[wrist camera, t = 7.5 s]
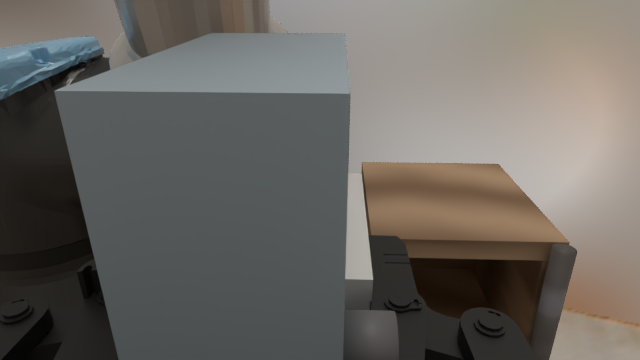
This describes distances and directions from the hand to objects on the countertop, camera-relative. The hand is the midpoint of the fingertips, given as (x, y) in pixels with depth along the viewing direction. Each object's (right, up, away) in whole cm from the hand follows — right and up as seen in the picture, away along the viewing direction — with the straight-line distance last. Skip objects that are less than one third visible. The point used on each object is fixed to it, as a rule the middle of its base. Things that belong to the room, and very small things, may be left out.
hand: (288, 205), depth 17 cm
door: (0, -9, -2) cm, 9 cm away
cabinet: (+8, -15, +14) cm, 22 cm away
